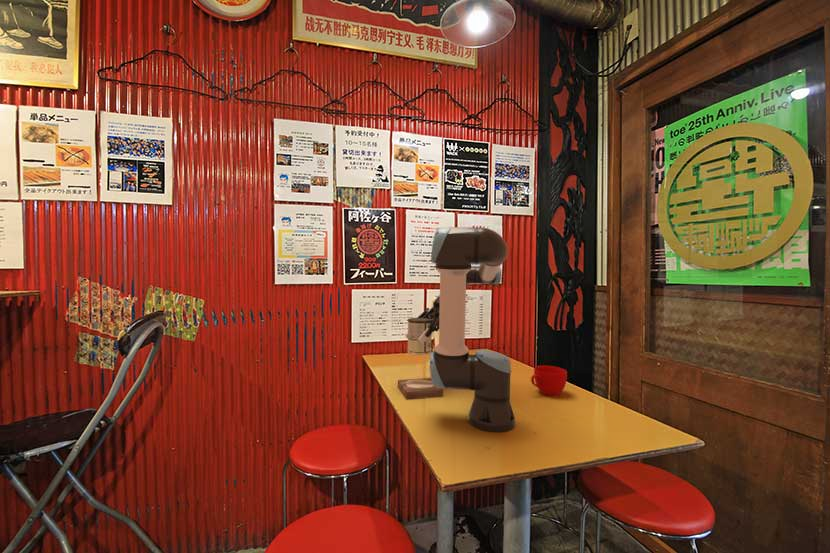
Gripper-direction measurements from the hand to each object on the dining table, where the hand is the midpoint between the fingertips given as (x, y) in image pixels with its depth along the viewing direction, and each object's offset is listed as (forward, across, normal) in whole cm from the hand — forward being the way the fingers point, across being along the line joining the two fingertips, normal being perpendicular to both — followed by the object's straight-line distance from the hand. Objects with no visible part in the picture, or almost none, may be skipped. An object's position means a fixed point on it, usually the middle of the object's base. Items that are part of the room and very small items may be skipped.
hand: (413, 339), depth 150 cm
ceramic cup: (-18, -30, -48) cm, 60 cm away
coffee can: (+2, 0, -6) cm, 6 cm away
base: (+14, -3, -16) cm, 21 cm away
